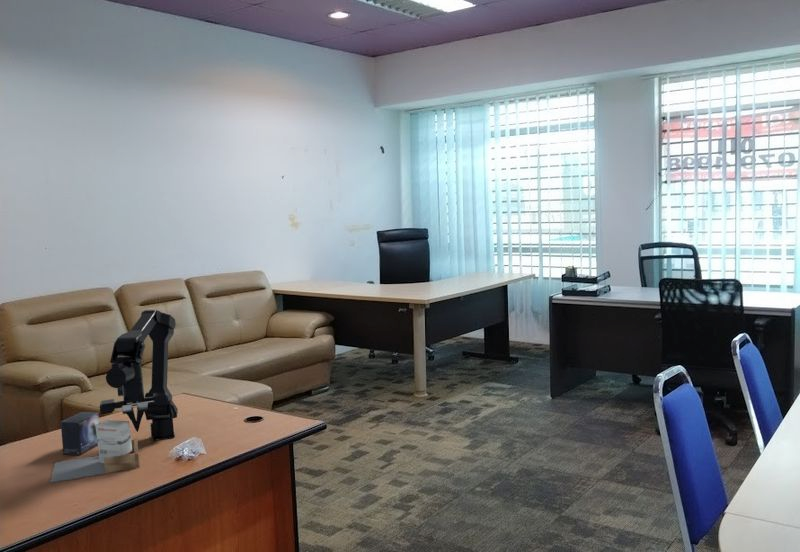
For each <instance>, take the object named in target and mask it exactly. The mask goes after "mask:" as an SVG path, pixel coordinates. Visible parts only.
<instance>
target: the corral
mask: <svg viewBox="0 0 800 552" xmlns="http://www.w3.org/2000/svg"><path fill="white" fill-rule="evenodd" d="M131 442H132V451H133V454H127V455H121V456H115V457H109V458H104V462H105V473H106V474H108V473H114V472H121V471H125V470H132V469H137V468H140V456H139V443H138V437H136V438H131Z"/></svg>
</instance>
